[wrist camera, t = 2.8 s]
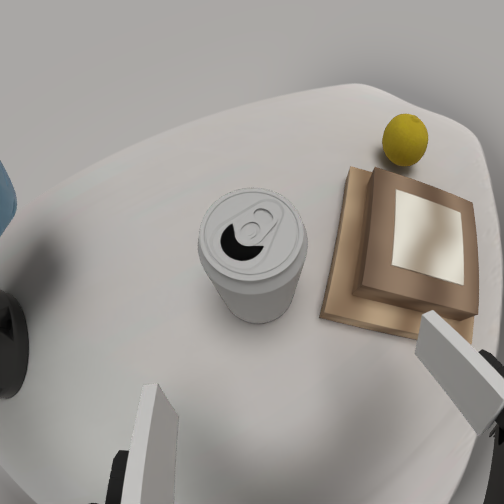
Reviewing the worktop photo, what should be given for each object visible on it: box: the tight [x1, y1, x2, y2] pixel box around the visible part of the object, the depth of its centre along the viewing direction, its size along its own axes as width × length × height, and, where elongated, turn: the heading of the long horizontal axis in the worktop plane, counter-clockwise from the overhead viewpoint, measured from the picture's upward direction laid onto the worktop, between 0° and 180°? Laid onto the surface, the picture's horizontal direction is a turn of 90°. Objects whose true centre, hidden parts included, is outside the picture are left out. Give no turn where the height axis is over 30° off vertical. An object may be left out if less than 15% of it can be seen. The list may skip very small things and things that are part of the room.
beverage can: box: [198, 188, 308, 323], centre depth 20 cm, size 6×6×12 cm
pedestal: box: [319, 166, 479, 344], centre depth 23 cm, size 16×16×6 cm
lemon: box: [382, 114, 428, 166], centre depth 28 cm, size 6×6×8 cm
